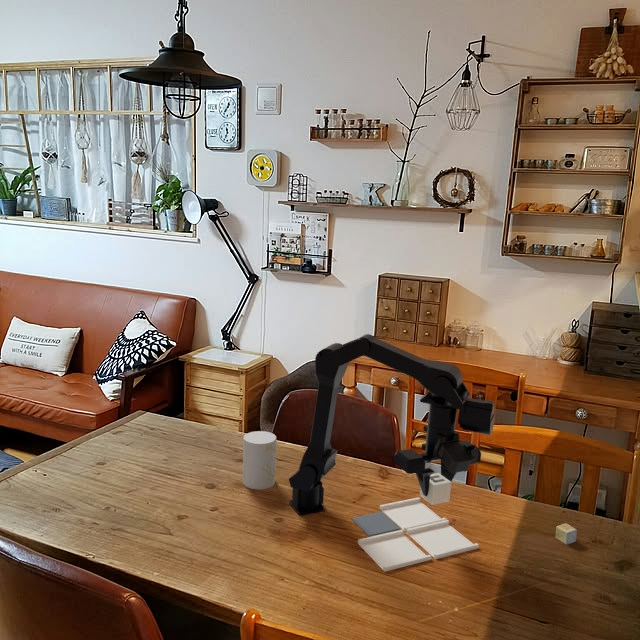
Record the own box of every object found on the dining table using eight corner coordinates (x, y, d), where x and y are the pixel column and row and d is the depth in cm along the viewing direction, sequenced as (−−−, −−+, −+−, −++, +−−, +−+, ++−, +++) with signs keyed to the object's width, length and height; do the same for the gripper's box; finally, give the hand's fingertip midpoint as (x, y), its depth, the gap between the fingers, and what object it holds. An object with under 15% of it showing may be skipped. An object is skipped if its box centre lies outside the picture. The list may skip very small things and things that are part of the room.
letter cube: (431, 505, 135) (433, 485, 134) (419, 495, 138) (421, 475, 138) (449, 501, 136) (451, 481, 136) (436, 492, 140) (438, 472, 139)
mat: (368, 537, 139) (368, 535, 139) (351, 519, 146) (351, 517, 146) (399, 529, 142) (400, 528, 142) (381, 513, 149) (381, 511, 149)
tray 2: (384, 572, 126) (384, 567, 126) (357, 543, 136) (357, 539, 136) (430, 560, 131) (431, 556, 131) (401, 533, 141) (402, 529, 141)
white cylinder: (270, 491, 158) (271, 445, 155) (238, 487, 159) (239, 441, 157) (278, 477, 165) (279, 433, 163) (248, 473, 167) (249, 429, 165)
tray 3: (435, 559, 131) (435, 555, 131) (406, 533, 141) (406, 529, 141) (478, 548, 136) (478, 544, 136) (447, 523, 146) (447, 519, 146)
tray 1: (405, 532, 141) (405, 528, 141) (379, 509, 151) (379, 505, 151) (445, 522, 146) (446, 518, 146) (418, 501, 156) (418, 497, 156)
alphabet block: (565, 545, 139) (567, 532, 138) (554, 538, 142) (556, 525, 141) (575, 542, 140) (577, 529, 140) (564, 535, 143) (566, 522, 143)
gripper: (426, 445, 123) (419, 519, 126) (502, 433, 131) (493, 503, 134) (395, 424, 133) (389, 493, 136) (468, 414, 141) (460, 480, 144)
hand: (434, 493), depth 137 cm, fingers closed on letter cube, 4 cm apart
